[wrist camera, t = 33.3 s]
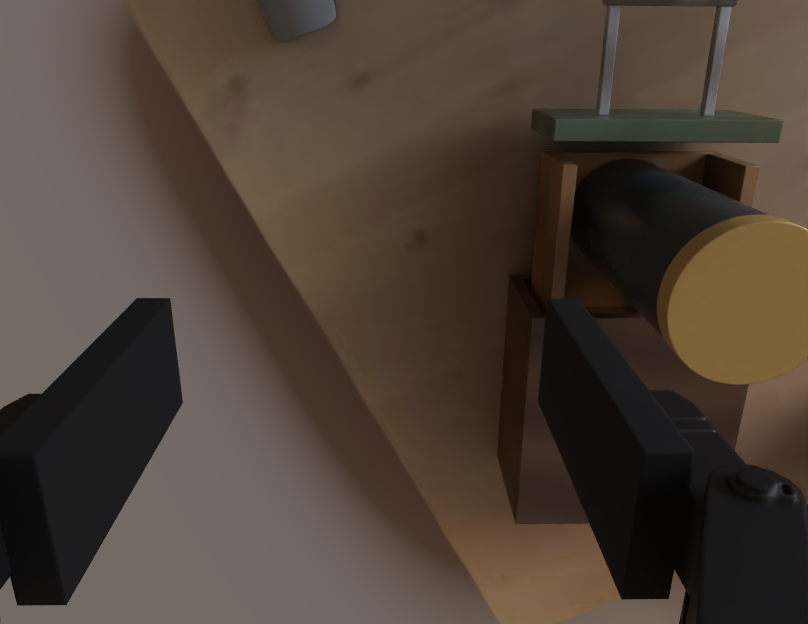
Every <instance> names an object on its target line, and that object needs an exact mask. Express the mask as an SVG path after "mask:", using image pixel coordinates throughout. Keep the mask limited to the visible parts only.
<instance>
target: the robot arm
mask: <svg viewBox="0 0 808 624" xmlns="http://www.w3.org/2000/svg"><path fill="white" fill-rule="evenodd" d="M182 403H183V401H182V393H181V385H180V376H179V368H178V360H177V352H176V344H175V335H174V327H173V319H172V310H171V302H170V298H137V299H136V300H135V301H134V302H133V303H132V304H131V305H130V306H129V307H128V308H127V309H126V310H125V311H124V312H123V313H122V314H121V315H120V316H119V317H118V318H117V319H116V320H115V321H114V322H113V323H112V324H111V325H110V326H109V327H108V328H107V329H106V330H105V331H104V332H103V333H102V334H101V335H100V336H99V337H98V338H97V339H96V340H95V341H94V342H93V343H92V344H91V345H90V346H89V347H88V348H87V349H86V350H85V351H84V352H83V353H82V354H81V355H80V356H79V357H78V358H77V359H76V360H75V361H74V362H73V363H72V364H71V365H70V366H69V367H68V368H67V369H66V370H65V371H64V372H63V373H62V374H61V375H60V376H59V377H58V378H57V379H56V380H55V381H54V382H53V383H52V384H51V385H50V386H49V387H48V388H47V389H46V390H45V391H44V392H43V393H42V394H27V395H26V396H23V397H22V398H20V399H18V400H16V401H14V402H12V403H10V404H8V405H7V406H5V407H3V408H2V409H1V410H0V589H1V588H2V587H3V585H4V584H5V582H6V581H7V580H8V578H9V577H11V581H12V586H13V590H14V594H15V598H16V602H17V605H67V603H68V601H69V600H70V598H71V596H72V594H73V593H74V591H75V589H76V587H77V585H78V584H79V582H80V580H81V579H82V577H83V575H84V573H85V572H86V570H87V568H88V567H89V565H90V563H91V561H92V560H93V558H94V556H95V554H96V552H97V550H98V549H99V547H100V546H101V544H102V542H103V540H104V539H105V537H106V535H107V534H108V532H109V530H110V528H111V526H112V525H113V523H114V521H115V520H116V518H117V516H118V514H119V513H120V511H121V509H122V507H123V506H124V503H125V502H126V500H127V499H128V497H129V495H130V494H131V492H132V490H133V488H134V487H135V485H136V483H137V481H138V480H139V478H140V476H141V474H142V473H143V471H144V469H145V467H146V466H147V464H148V462H149V460H150V459H151V457H152V455H153V453H154V452H155V450H156V448H157V447H158V445H159V443H160V441H161V440H162V438H163V436H164V434H165V433H166V431H167V429H168V427H169V426H170V424H171V422H172V420H173V419H174V417H175V415H176V413H177V412H178V410H179V408H180V407H181V405H182ZM538 403H539V405H540V408H541V410H542V413H543V415H544V417H545V420H546V422H547V424H548V427H549V429H550V431H551V434H552V436H553V438H554V441H555V443H556V446H557V448H558V450H559V453H560V455H561V457H562V460H563V462H564V464H565V467H566V469H567V472H568V474H569V476H570V479H571V481H572V483H573V486H574V488H575V490H576V493H577V495H578V498H579V500H580V502H581V505H582V507H583V509H584V512H585V514H586V516H587V519H588V521H589V523H590V526H591V528H592V531H593V533H594V535H595V538H596V540H597V542H598V545H599V547H600V549H601V552H602V554H603V557H604V559H605V561H606V564H607V566H608V568H609V571H610V573H611V575H612V578H613V580H614V582H615V585H616V587H617V590H618V592H619V594H620V597H621V599H669V594H670V589H671V584H672V578H673V573H674V569H675V571H676V573H677V575H678V576H679V578H680V580H681V582H682V584H683V585H684V587H685V589H686V591H685V596H684V601H683V606H682V612H681V617H680V622H679V624H808V504H806V500H805V498H804V496H803V494H802V492H801V490H800V489H799V488H798V487H797V486H796V485H794V484H793V483H792V482H791V481H790V480H789V479H787V478H785V477H783V476H781V475H779V474H777V473H775V472H773V471H770V470H767V469H764V468H761V467H757V466H753V465H746V464H745V463H744V461H743V460H742V459H741V458H740V457H739V456H738V454H737V453H736V452H735V451H734V450H733V449H732V447H731V446H730V445H729V444H728V443H727V442H726V440H725V439H724V438H723V437H722V436H721V435H720V433H719V432H716V429H715V428H714V427H713V425H712V424H711V423H710V422H709V421H708V420H706V417H705V416H704V415H703V414H702V413H701V411H700V410H699V409H698V408H697V407H696V406H695V404H694V403H693V402H691V401H689V400H688V399H686V398H684V397H683V396H681V395H679V394H678V393H676V392H674V391H672V390H648V388H647V387H646V386H645V384H644V383H643V382H642V380H641V379H640V378H639V377H638V375H637V374H636V373H635V371H634V370H633V369H632V367H631V366H630V365H629V363H628V362H627V361H626V359H625V358H624V357H623V355H622V354H621V353H620V352H619V350H618V349H617V348H616V346H615V345H614V344H613V342H612V341H611V340H610V338H609V337H608V336H607V334H606V333H605V332H604V331H603V329H602V328H601V327H600V325H599V324H598V323H597V321H596V320H595V319H594V317H593V316H592V315H591V313H590V312H589V311H588V309H587V308H586V307H585V306H584V304H583V303H582V302H581V300H580V299H579V298H547V304H546V315H545V327H544V338H543V349H542V361H541V372H540V383H539V395H538Z"/></svg>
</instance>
